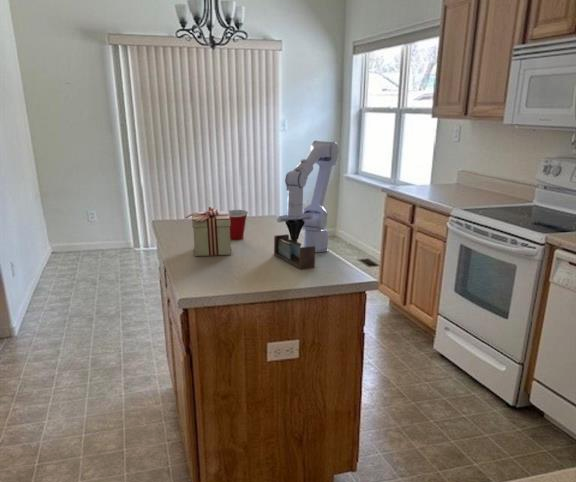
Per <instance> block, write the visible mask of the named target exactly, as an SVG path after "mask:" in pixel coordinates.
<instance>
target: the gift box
mask: <svg viewBox="0 0 576 482" xmlns="http://www.w3.org/2000/svg"><path fill="white" fill-rule="evenodd" d="M228 211H229V210H222V211H221V210H220V211H218V209H216V208H213V207H211V206H208V210H206V211H193V212H192V213H189V214H188V215H186V216H185V217H184V219H188V218H190V217H191V216H192V217H191V225H192V229H193V244H194V257H207V256H208V257H209V256H210V257H211V256H231V255H232V245H231V239H230V215H229V212H228Z"/></svg>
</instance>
